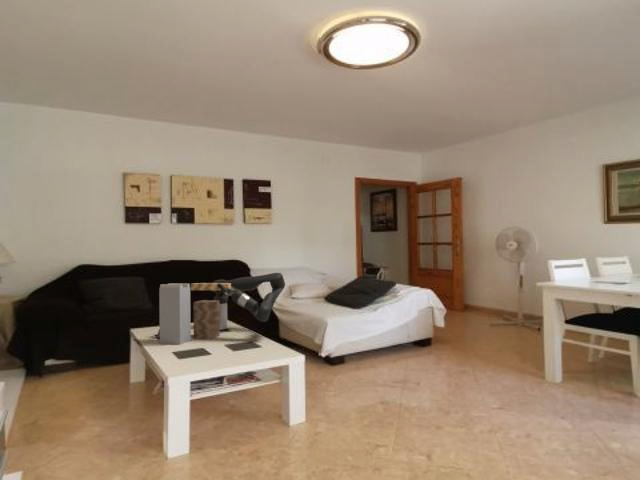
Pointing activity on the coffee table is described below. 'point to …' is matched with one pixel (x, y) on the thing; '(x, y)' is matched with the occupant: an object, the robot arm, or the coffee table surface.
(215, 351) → the coffee table surface
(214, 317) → the walnut step
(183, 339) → the grey stand
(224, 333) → the coffee table surface
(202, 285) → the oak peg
